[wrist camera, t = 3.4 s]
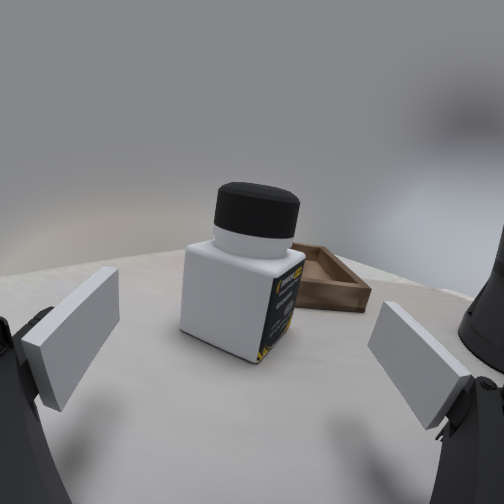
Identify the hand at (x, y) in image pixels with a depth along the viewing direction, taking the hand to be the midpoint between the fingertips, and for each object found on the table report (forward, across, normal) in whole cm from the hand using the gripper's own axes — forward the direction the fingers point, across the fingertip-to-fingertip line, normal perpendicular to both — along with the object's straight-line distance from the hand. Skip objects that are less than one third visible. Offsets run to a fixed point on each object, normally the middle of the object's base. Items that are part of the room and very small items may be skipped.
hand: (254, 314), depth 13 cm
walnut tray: (+24, +8, -6) cm, 26 cm away
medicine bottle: (+9, 0, -7) cm, 11 cm away
